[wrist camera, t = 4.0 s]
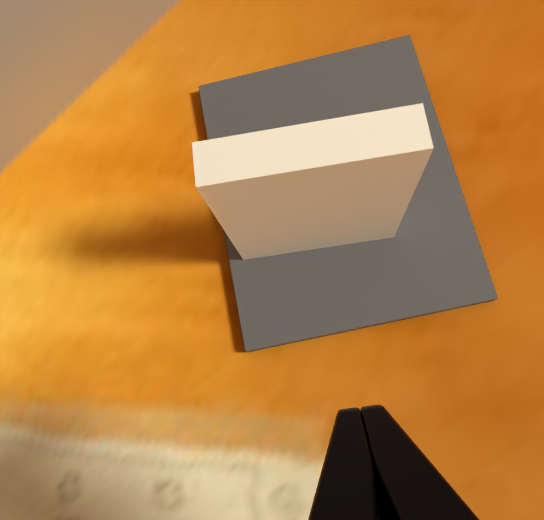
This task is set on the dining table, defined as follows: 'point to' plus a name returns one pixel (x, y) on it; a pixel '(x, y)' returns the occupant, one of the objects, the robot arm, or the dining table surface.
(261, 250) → the tile
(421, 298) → the mat
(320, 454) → the dining table surface
